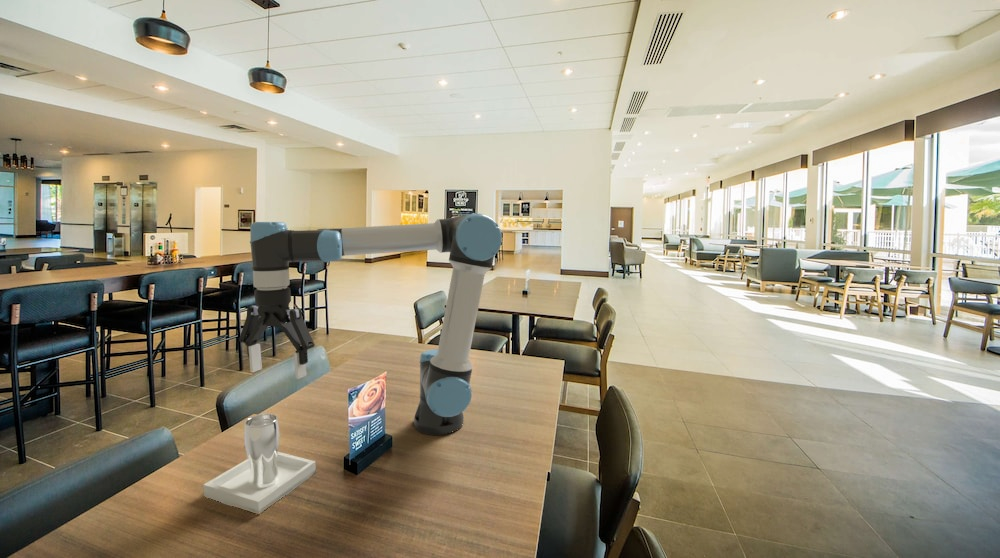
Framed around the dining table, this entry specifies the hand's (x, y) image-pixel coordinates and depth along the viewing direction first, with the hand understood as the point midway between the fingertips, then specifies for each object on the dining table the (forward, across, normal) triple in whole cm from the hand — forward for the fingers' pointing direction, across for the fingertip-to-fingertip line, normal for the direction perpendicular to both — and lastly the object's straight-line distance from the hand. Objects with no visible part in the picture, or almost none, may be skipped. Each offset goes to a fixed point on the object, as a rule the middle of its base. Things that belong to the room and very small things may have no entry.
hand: (278, 373), depth 101 cm
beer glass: (+23, -2, +8) cm, 25 cm away
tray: (+24, -1, +8) cm, 25 cm away
